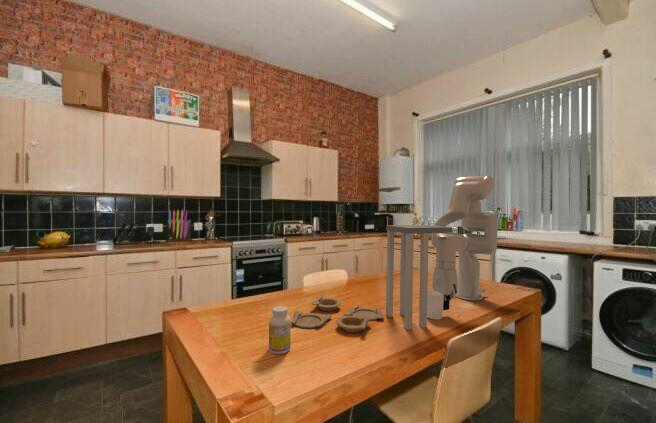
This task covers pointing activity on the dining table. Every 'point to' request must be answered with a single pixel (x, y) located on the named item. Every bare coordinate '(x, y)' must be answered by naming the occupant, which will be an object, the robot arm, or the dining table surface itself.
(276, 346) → the supplement bottle
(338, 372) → the dining table surface
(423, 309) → the grey tall stool
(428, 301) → the white cup
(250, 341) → the dining table surface
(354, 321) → the tableware set
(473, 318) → the dining table surface
